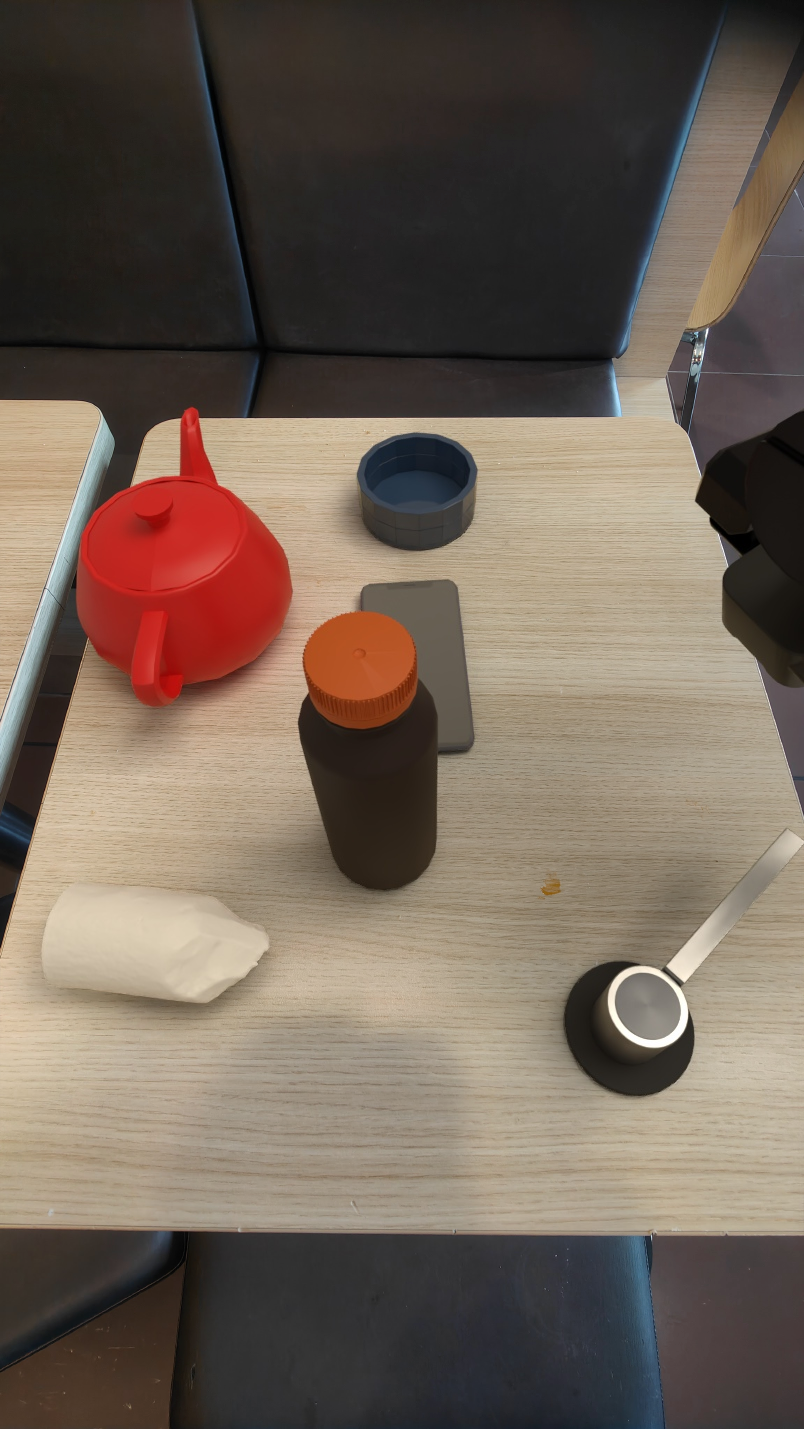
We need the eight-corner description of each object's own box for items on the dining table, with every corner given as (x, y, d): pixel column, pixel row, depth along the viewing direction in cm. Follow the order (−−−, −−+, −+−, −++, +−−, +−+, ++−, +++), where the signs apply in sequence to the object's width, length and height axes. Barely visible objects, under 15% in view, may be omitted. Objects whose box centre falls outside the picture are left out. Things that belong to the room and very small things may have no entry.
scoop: (732, 849, 49) (764, 810, 44) (790, 894, 47) (829, 859, 42) (574, 1024, 43) (591, 1001, 39) (632, 1082, 42) (658, 1065, 37)
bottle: (456, 827, 50) (469, 634, 34) (397, 913, 48) (379, 749, 31) (371, 777, 53) (342, 571, 36) (309, 856, 50) (246, 673, 33)
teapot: (287, 750, 54) (254, 642, 44) (64, 754, 54) (-21, 648, 44) (309, 498, 67) (288, 370, 57) (130, 503, 68) (77, 376, 57)
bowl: (458, 462, 69) (459, 424, 66) (488, 538, 64) (491, 501, 61) (351, 481, 68) (347, 443, 65) (373, 559, 63) (370, 523, 60)
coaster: (662, 951, 46) (664, 948, 45) (713, 1078, 42) (716, 1077, 42) (547, 978, 45) (548, 976, 45) (589, 1110, 42) (591, 1109, 41)
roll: (268, 1021, 45) (248, 998, 40) (66, 996, 46) (24, 972, 41) (288, 917, 48) (273, 885, 43) (100, 897, 49) (64, 863, 44)
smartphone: (364, 752, 53) (359, 582, 60) (365, 759, 53) (360, 590, 61) (476, 745, 53) (457, 576, 60) (475, 752, 53) (456, 585, 61)
